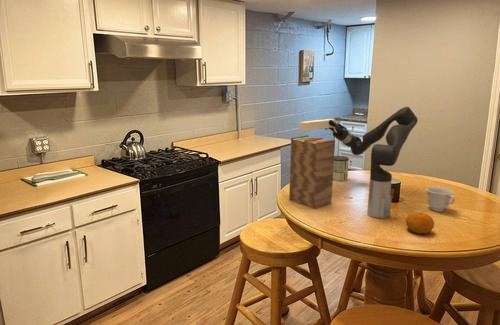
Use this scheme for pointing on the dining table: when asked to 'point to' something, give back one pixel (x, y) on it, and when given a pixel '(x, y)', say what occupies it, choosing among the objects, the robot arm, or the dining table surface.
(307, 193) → the brown patterned box
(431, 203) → the teacup
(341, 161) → the coffee can
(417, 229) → the fruit
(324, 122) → the block
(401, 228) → the dining table surface
